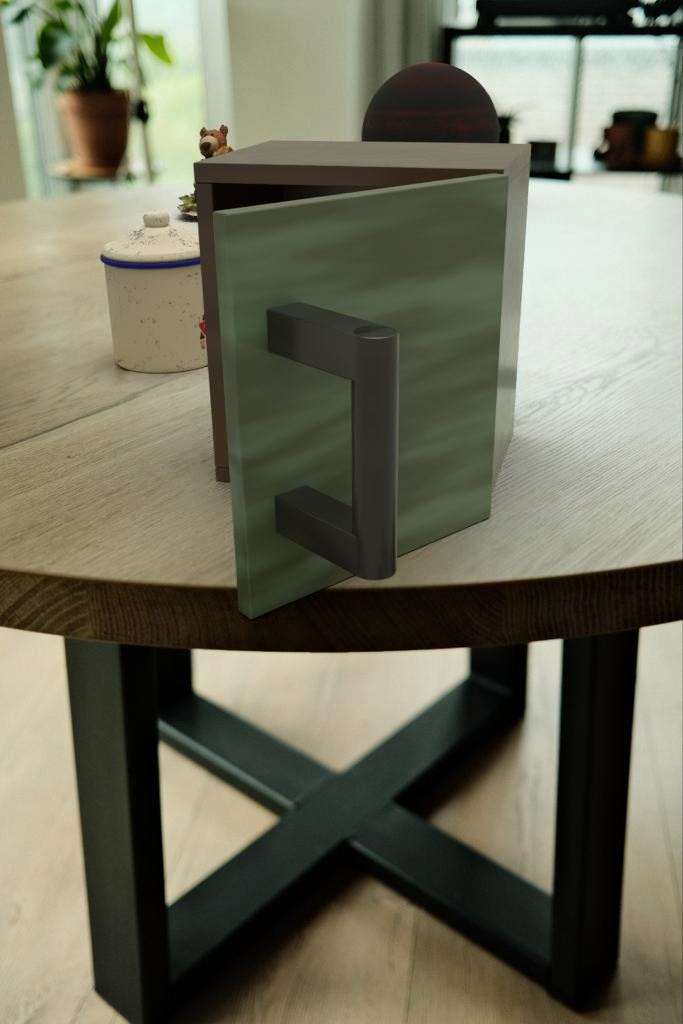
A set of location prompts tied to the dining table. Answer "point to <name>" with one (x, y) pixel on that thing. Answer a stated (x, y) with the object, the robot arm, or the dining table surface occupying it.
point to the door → (358, 377)
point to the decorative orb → (431, 108)
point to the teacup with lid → (156, 297)
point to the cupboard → (348, 169)
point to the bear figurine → (209, 147)
